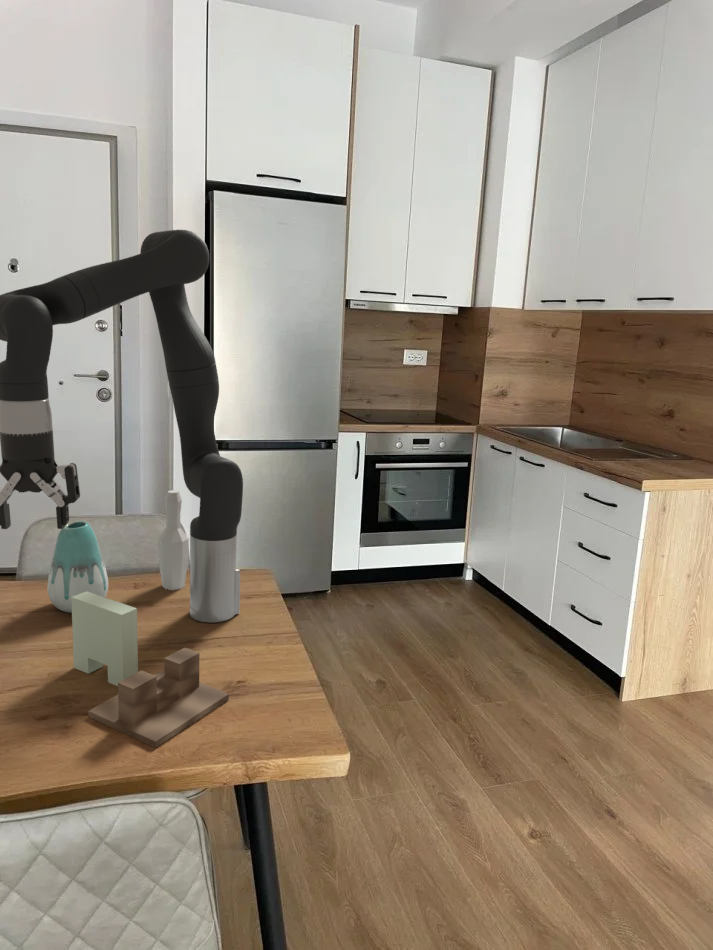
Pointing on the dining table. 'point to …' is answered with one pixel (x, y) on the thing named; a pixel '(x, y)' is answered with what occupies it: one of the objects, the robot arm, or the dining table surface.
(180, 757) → the dining table surface
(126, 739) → the dining table surface
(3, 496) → the robot arm
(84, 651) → the upright sage green panel
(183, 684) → the slot plate
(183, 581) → the faceted bottle
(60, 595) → the vase
